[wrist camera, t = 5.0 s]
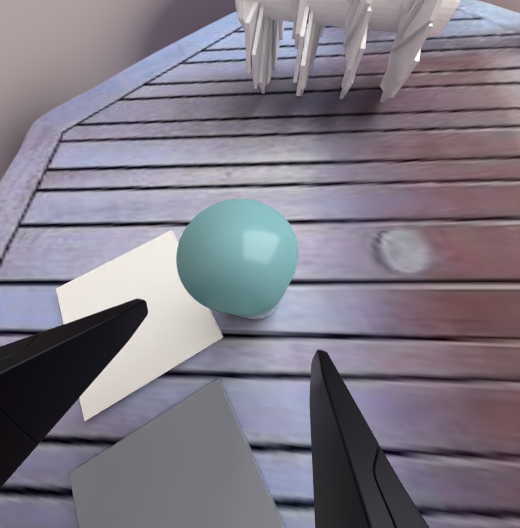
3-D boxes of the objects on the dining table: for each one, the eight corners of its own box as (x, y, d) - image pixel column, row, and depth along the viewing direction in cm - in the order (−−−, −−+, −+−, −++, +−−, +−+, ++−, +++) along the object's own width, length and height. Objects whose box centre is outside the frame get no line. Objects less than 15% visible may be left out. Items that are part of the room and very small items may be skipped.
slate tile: (122, 711, 12) (115, 731, 11) (76, 468, 16) (69, 473, 15) (302, 564, 14) (303, 575, 13) (219, 377, 18) (217, 379, 17)
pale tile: (90, 418, 17) (84, 421, 16) (61, 289, 21) (55, 288, 20) (223, 337, 19) (222, 337, 18) (173, 232, 23) (171, 230, 22)
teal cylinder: (247, 328, 19) (207, 340, 6) (225, 287, 20) (158, 232, 8) (288, 303, 19) (323, 270, 7) (264, 265, 21) (258, 181, 8)
